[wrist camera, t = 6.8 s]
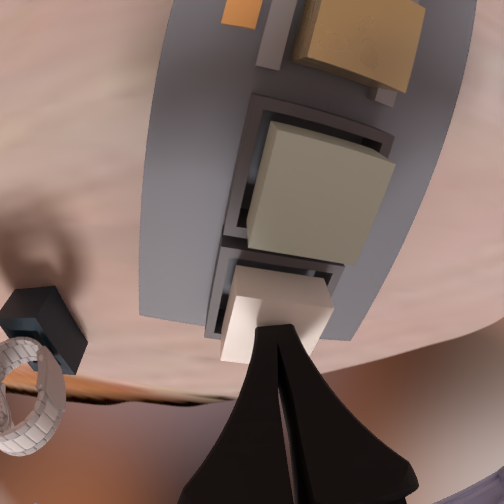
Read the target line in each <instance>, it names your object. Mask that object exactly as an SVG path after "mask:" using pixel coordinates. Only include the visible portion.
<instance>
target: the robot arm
mask: <svg viewBox="0 0 504 504" xmlns="http://www.w3.org/2000/svg"><path fill="white" fill-rule="evenodd" d="M278 389H279V394H280V398H281V403H282V408H283V413H284V418H285V422H286V427H287V431H288V438H289V443H290V454H291V465H292V475H293V486H294V498H295V504H407V503H406V499H405V497H406V496H408V495H409V494H411V493H412V492H414V491H415V490H417V489H418V487H419V484H418V480H417V477H416V475H415V473H414V470H413V468H412V466H411V465H410V463H409V462H408V461H407V460H405V459H404V458H403V457H401V456H400V455H398V454H397V453H396V452H394V451H393V450H392V449H390V448H389V447H388V446H387V445H385V444H384V443H383V442H382V441H380V440H379V439H378V438H377V437H376V436H374V435H373V434H372V433H371V432H370V431H369V430H368V429H367V428H366V427H365V426H364V425H363V424H362V423H361V422H360V421H359V420H357V418H356V417H355V416H354V415H353V414H352V413H351V412H350V411H349V410H348V409H347V408H346V407H345V405H344V404H343V403H342V402H341V401H340V400H339V398H338V397H337V396H336V395H335V393H334V392H333V391H332V390H331V388H330V387H329V385H328V384H327V383H326V381H325V380H324V379H323V377H322V376H321V374H320V373H319V371H318V370H317V368H316V367H315V365H314V363H313V362H312V360H311V359H310V357H309V355H308V354H307V352H306V350H305V348H304V346H303V344H302V343H301V341H300V339H299V336H298V334H297V332H296V330H295V327H294V325H292V324H283V325H272V326H259V327H257V328H255V337H254V345H253V351H252V355H251V360H250V363H249V367H248V370H247V374H246V377H245V380H244V383H243V386H242V388H241V391H240V394H239V397H238V399H237V401H236V404H235V406H234V409H233V411H232V413H231V415H230V417H229V419H228V421H227V423H226V425H225V427H224V429H223V431H222V433H221V435H220V436H219V438H218V440H217V441H216V443H215V445H214V446H213V448H212V450H211V451H210V453H209V454H208V456H207V457H206V459H205V460H204V462H203V463H202V465H201V466H200V467H199V469H198V470H197V471H196V473H195V474H194V475H193V477H192V478H191V479H190V480H189V482H188V483H187V484H186V485H185V487H184V488H183V491H182V493H181V495H180V498H179V500H178V503H177V504H294V502H293V496H292V490H291V484H290V477H289V471H288V464H287V457H286V450H285V444H284V437H283V429H282V422H281V415H280V406H279V399H278ZM34 504H39V503H34ZM433 504H504V466H503V467H502V468H500V469H499V470H498V471H497V472H495V473H493V474H492V475H490V476H488V477H486V478H485V479H483V480H481V481H479V482H477V483H475V484H474V485H472V486H470V487H468V488H466V489H464V490H462V491H460V492H458V493H455V494H453V495H451V496H449V497H447V498H445V499H442V500H440V501H438V502H436V503H433Z"/></svg>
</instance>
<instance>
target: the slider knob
mask: <svg viewBox="0 0 504 504" xmlns="http://www.w3.org/2000/svg"><path fill="white" fill-rule="evenodd" d="M425 10H426V8H424V7H422V6H420V5H419V4H417V3H415V2H413V1H411V0H305V2H304V5H303V9H302V13H301V17H300V21H299V25H298V28H297V32H296V36H295V40H294V44H293V48H292V52H291V56H290V60H289V62H292V63H295V64H299V65H303V66H306V67H310V68H313V69H317V70H320V71H323V72H326V73H330V74H333V75H336V76H339V77H342V78H345V79H348V80H350V81H353V82H356V83H359V84H361V85H364V86H367V87H374V88H380V89H386V90H391V91H397V92H402V93H406V90H407V86H408V82H409V79H410V75H411V71H412V67H413V63H414V59H415V55H416V51H417V47H418V43H419V38H420V34H421V29H422V25H423V20H424V15H425Z"/></svg>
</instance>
